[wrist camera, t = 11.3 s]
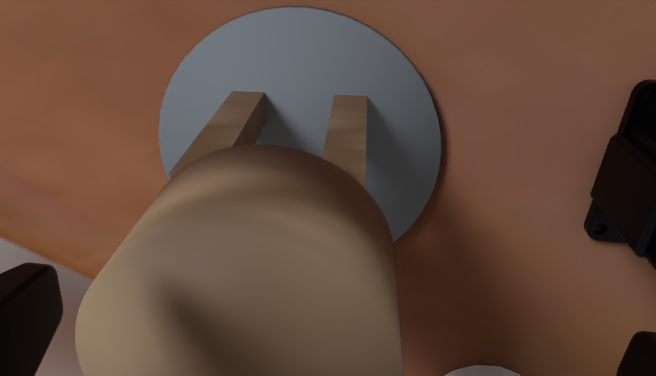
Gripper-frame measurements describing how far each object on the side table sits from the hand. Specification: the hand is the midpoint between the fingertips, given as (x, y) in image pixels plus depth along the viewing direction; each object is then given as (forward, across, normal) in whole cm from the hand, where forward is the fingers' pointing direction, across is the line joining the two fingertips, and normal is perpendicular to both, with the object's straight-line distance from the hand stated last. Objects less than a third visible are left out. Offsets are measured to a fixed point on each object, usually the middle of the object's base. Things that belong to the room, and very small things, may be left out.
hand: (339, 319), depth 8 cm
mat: (+13, +2, +3) cm, 13 cm away
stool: (+12, +2, +3) cm, 13 cm away
